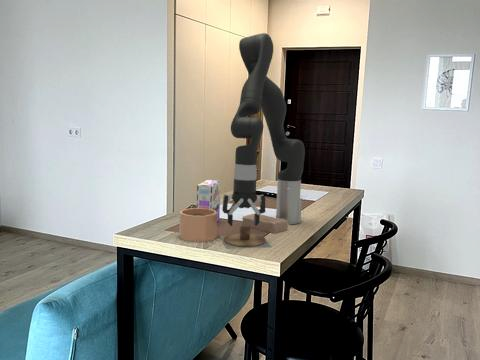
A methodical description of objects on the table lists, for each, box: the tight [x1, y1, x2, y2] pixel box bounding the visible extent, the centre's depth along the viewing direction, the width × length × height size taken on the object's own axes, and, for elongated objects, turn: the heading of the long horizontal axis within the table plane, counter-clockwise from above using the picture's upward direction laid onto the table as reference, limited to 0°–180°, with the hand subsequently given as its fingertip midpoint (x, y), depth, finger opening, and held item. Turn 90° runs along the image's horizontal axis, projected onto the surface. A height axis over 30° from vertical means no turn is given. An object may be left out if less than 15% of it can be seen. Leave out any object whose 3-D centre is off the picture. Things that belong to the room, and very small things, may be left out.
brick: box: [241, 213, 289, 234], centre depth 175 cm, size 17×8×5 cm, turn 47°
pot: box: [179, 207, 218, 243], centre depth 161 cm, size 13×13×9 cm
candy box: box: [196, 179, 221, 223], centre depth 179 cm, size 14×6×16 cm, turn 168°
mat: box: [219, 233, 273, 250], centre depth 157 cm, size 15×15×1 cm
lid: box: [224, 225, 267, 247], centre depth 157 cm, size 14×14×5 cm
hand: (243, 225), depth 156 cm, fingers open, 8 cm apart
